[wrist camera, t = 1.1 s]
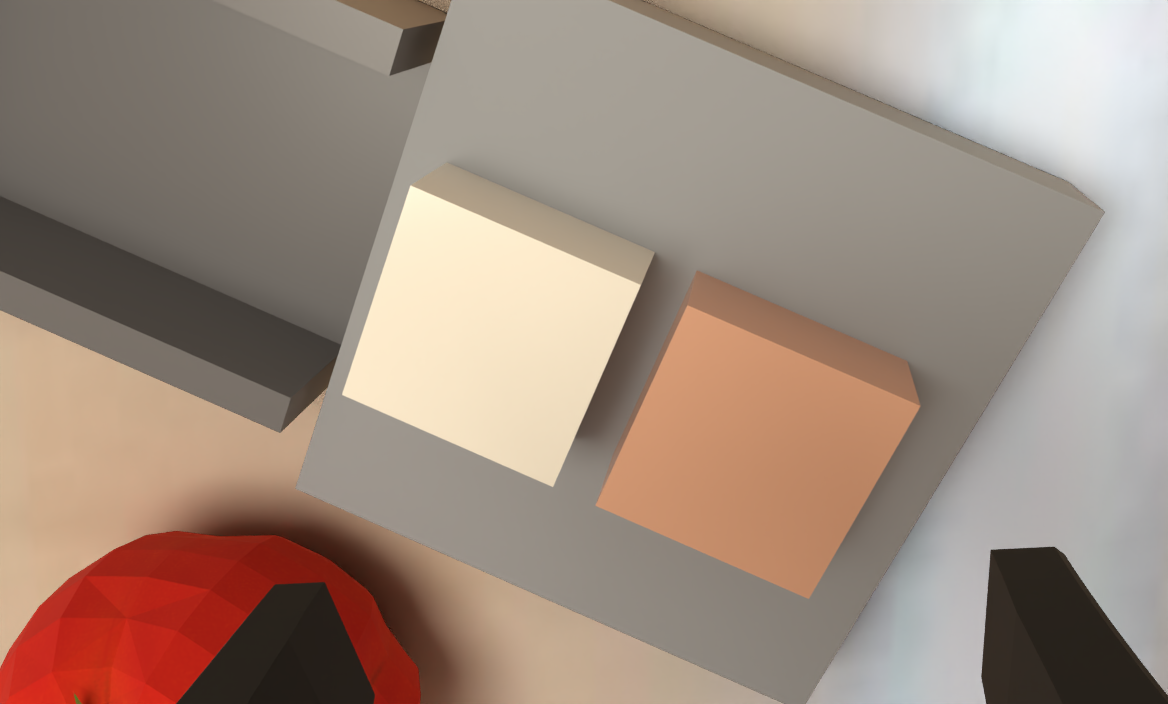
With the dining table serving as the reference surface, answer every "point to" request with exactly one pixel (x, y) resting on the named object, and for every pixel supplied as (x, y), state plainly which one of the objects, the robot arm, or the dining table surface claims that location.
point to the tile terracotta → (758, 435)
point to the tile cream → (494, 320)
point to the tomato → (180, 621)
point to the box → (203, 180)
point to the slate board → (683, 246)
